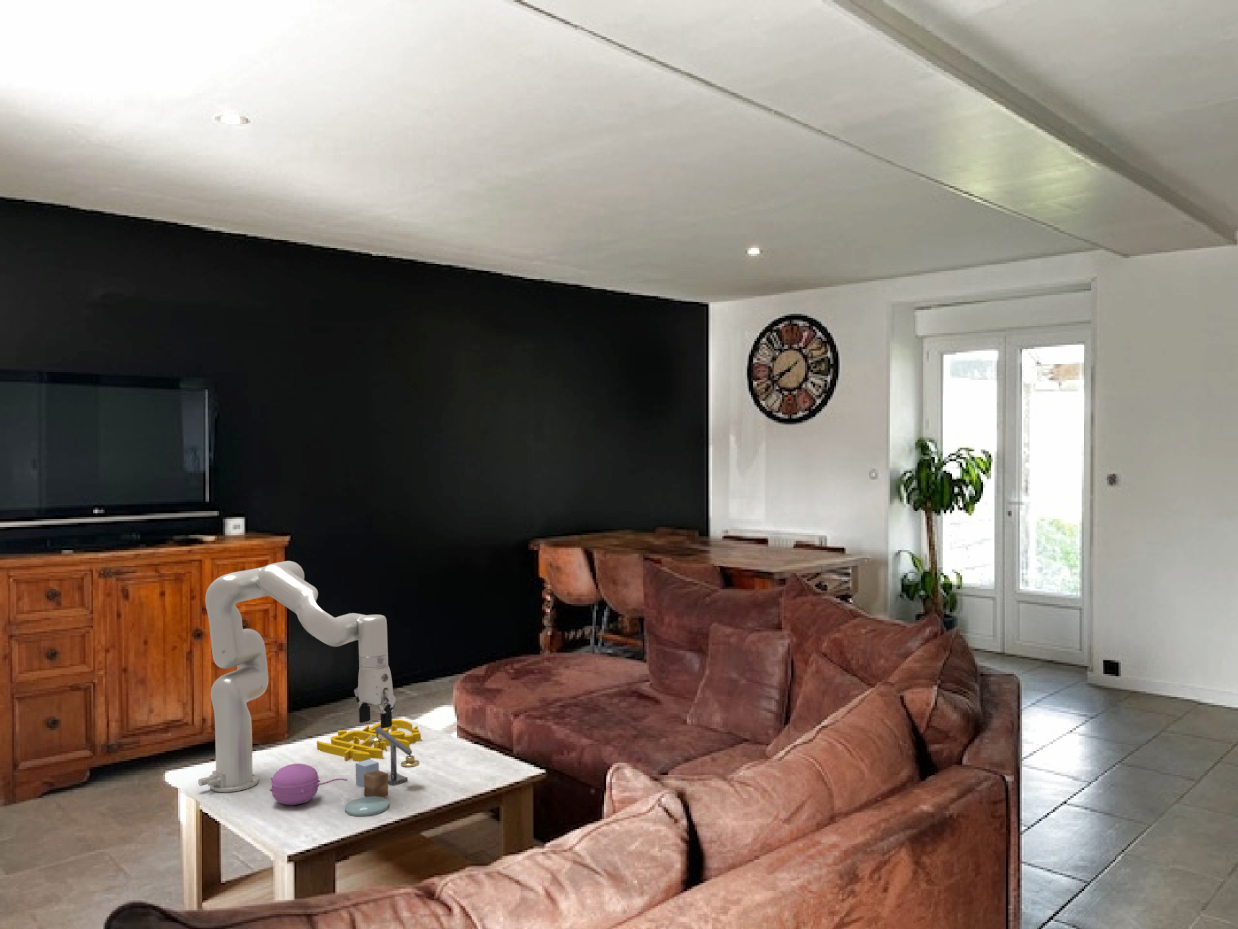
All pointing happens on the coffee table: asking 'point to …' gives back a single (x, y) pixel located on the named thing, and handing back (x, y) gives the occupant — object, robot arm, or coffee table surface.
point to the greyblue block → (365, 770)
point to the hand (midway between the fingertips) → (375, 724)
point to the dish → (366, 806)
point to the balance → (410, 760)
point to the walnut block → (376, 784)
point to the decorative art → (363, 751)
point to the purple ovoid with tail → (296, 784)
